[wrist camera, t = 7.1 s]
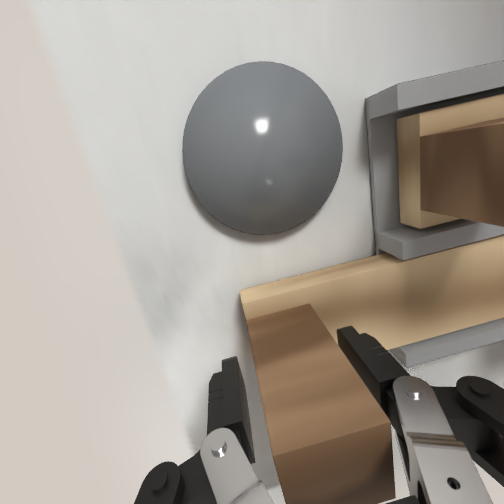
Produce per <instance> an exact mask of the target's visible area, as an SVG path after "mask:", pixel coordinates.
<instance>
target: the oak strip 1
mask: <svg viewBox="0 0 504 504" xmlns="http://www.w3.org/2000/svg"><path fill="white" fill-rule="evenodd" d="M239 291H240V296H241V301H242V306H243V310H244V314H245V317H246V322H247V327H248V332H249V337H250V342H251V347H252V353H253V358H254V363H255V368H256V373H257V378H258V384H259V389H260V394H261V399H262V404H263V409H264V415H265V420H266V425H267V430H268V435H269V440H270V445H271V451H272V456H273V460H274V463H275V467H276V470H277V474H278V477H279V481H280V485H281V488H282V492H283V495H284V499H285V502H286V504H378V503H381V502H384V501H388V500H391V499H394V498H395V482H394V467H393V451H392V434H391V421H390V420H389V419H388V417H387V416H386V414H385V413H384V411H383V410H382V408H381V407H380V405H379V404H378V402H377V401H376V400H375V398H374V397H373V395H372V394H371V392H370V391H369V389H368V388H367V386H366V385H365V384H364V382H363V381H362V379H361V378H360V376H359V375H358V373H357V372H356V370H355V369H354V368H353V366H352V365H351V363H350V362H349V360H348V359H347V357H346V356H345V354H344V353H343V352H342V350H341V349H340V347H339V346H338V339H337V329H339V328H343V327H347V326H350V325H351V326H353V327H354V328H355V329H356V331H357V332H358V333H359V334H362V333H367V334H369V335H371V336H373V337H374V338H376V339H377V340H378V342H379V343H380V344H381V345H382V347H384V348H385V349H386V350H389V349H393V348H397V347H400V346H404V345H407V344H411V343H415V342H418V341H422V340H425V339H429V338H432V337H436V336H440V335H443V334H447V333H450V332H454V331H458V330H461V329H465V328H468V327H472V326H476V325H479V324H483V323H486V322H490V321H494V320H497V319H501V318H504V234H503V235H499V236H495V237H491V238H487V239H483V240H480V241H476V242H472V243H468V244H464V245H460V246H457V247H453V248H449V249H445V250H441V251H437V252H433V253H430V254H426V255H422V256H418V257H414V258H410V259H407V260H401V259H399V258H397V257H395V256H393V255H391V254H389V253H387V252H386V253H382V254H378V255H375V256H371V257H367V258H363V259H359V260H355V261H351V262H347V263H344V264H340V265H336V266H332V267H328V268H324V269H320V270H316V271H312V272H309V273H305V274H301V275H297V276H293V277H289V278H285V279H281V280H278V281H274V282H270V283H266V284H262V285H258V286H254V287H250V288H247V289H243V290H239Z"/></svg>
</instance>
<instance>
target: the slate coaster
mask: <svg viewBox="0 0 504 504" xmlns="http://www.w3.org/2000/svg"><path fill="white" fill-rule="evenodd" d="M342 151H343V147H342V134H341V128H340V124H339V121H338V117H337V115H336V112H335V110H334V108H333V106H332V104H331V102H330V100H329V99H328V97H327V96H326V94H325V93H324V92H323V90H322V89H321V88H320V87H319V86H318V85H317V84H316V83H315V82H314V81H313V80H312V79H311V78H309V77H308V76H306V75H305V74H304V73H302V72H300V71H298V70H296V69H294V68H292V67H290V66H287V65H284V64H280V63H275V62H252V63H246V64H243V65H239V66H236V67H234V68H232V69H230V70H228V71H226V72H224V73H223V74H221V75H220V76H218V77H217V78H215V79H214V80H213V81H212V82H211V83H210V84H209V85H208V86H207V87H206V88H205V89H204V90H203V91H202V93H201V94H200V95H199V97H198V98H197V100H196V101H195V103H194V105H193V107H192V109H191V111H190V113H189V116H188V119H187V122H186V125H185V129H184V136H183V151H182V152H183V163H184V167H185V172H186V176H187V179H188V181H189V184H190V186H191V188H192V190H193V192H194V194H195V196H196V197H197V199H198V200H199V202H200V203H201V205H202V206H203V207H204V208H205V209H206V210H207V211H208V212H209V213H210V214H211V215H212V216H213V217H214V218H215V219H217V220H218V221H220V222H221V223H223V224H224V225H226V226H228V227H230V228H232V229H235V230H238V231H240V232H244V233H249V234H257V235H266V234H275V233H280V232H283V231H287V230H289V229H292V228H294V227H296V226H298V225H300V224H301V223H303V222H305V221H306V220H307V219H309V218H310V217H311V216H312V215H314V214H315V213H316V212H317V211H318V209H319V208H320V207H321V206H322V205H323V204H324V202H325V201H326V200H327V198H328V197H329V195H330V193H331V192H332V190H333V187H334V185H335V183H336V181H337V178H338V174H339V171H340V167H341V162H342Z"/></svg>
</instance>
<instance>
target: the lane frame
mask: <svg viewBox="0 0 504 504" xmlns="http://www.w3.org/2000/svg"><path fill="white" fill-rule="evenodd" d="M500 94H504V60H502V61H498V62H493V63H489V64H484V65H480V66H475V67H471V68H466V69H462V70H457V71H453V72H448V73H444V74H439V75H435V76H431V77H426V78H422V79H417V80H413V81H408V82H404V83H399V84H396V85H394V86H392V87H390V88H387V89H385V90H383V91H381V92H379V93H377V94H375V95H373V96H370V97H368V98H366V99H365V101H366V116H367V130H368V145H369V159H370V174H371V188H372V203H373V218H374V232H375V247H376V255H378V254H382V253H386V252H387V253H389V254H391V255H393V256H395V257H397V258H399V259H401V260H407V259H410V258H414V257H418V256H422V255H426V254H430V253H433V252H437V251H441V250H445V249H449V248H453V247H457V246H460V245H464V244H468V243H472V242H476V241H480V240H483V239H487V238H491V237H495V236H499V235H503V234H504V227H501V226H496V225H491V224H486V223H482V222H477V221H472V220H467V219H462V218H461V219H457V220H454V221H450V222H446V223H442V224H438V225H434V226H430V227H426V228H422V229H419V228H416V227H413V226H409V225H406V224H402V223H400V199H399V171H398V142H397V119H400V118H403V117H407V116H411V115H414V114H418V113H422V112H426V111H431V110H435V109H439V108H444V107H448V106H452V105H457V104H461V103H465V102H470V101H474V100H478V99H483V98H487V97H492V96H496V95H500ZM503 340H504V318H501V319H497V320H494V321H490V322H486V323H483V324H479V325H476V326H472V327H468V328H465V329H461V330H458V331H454V332H450V333H447V334H443V335H440V336H436V337H432V338H429V339H425V340H422V341H418V342H415V343H411V344H407V345H404V346H400V347H397V348H393V349H389V350H390V351H391V352H392V353H393V354H394V355H395V356H396V357H397V358H398V359H399V360H400V361H401V362H402V363H403V365H404V366H405V367H406V368H407V367H411V366H415V365H418V364H422V363H425V362H429V361H432V360H436V359H439V358H443V357H446V356H450V355H453V354H457V353H460V352H464V351H467V350H471V349H475V348H478V347H482V346H485V345H489V344H492V343H496V342H499V341H503Z"/></svg>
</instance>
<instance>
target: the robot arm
mask: <svg viewBox="0 0 504 504" xmlns="http://www.w3.org/2000/svg"><path fill="white" fill-rule="evenodd" d="M337 339H338V346H339V347H340V349H341V350H342V352H343V353H344V354H345V356H346V357H347V359H348V360H349V362H350V363H351V365H352V366H353V368H354V369H355V370H356V372H357V373H358V375H359V376H360V378H361V379H362V381H363V382H364V384H365V385H366V386H367V388H368V389H369V391H370V392H371V394H372V395H373V397H374V398H375V400H376V401H377V402H378V404H379V405H380V407H381V408H382V410H383V411H384V413H385V414H386V416H387V417H388V419H389V420H390V421H391V424H392V426H393V427H394V429H395V435H396V440H397V444H398V447H399V452H400V456H401V460H402V464H403V467H404V471H405V475H406V479H407V483H408V487H409V491H410V496H409V497H406V498H403V499H399V500H396V501H393V502H390V503H386V504H493V502H492V500H491V498H490V496H489V494H488V492H487V489H486V488H485V485H484V483H483V481H482V479H481V477H480V475H479V473H478V471H477V469H476V467H475V464H474V462H473V460H474V461H475V462H476V463H477V464H478V465H479V466H480V467H481V468H483V469H484V470H485V471H486V472H487V473H488V474H490V475H491V476H492V477H493V478H494V479H495V480H496V481H498V482H499V483H500V484H501V485H502V486H503V487H504V389H503V388H501V387H499V386H498V385H496V384H494V383H493V382H491V381H489V380H487V379H484V378H481V377H476V376H465V377H462V378H460V379H459V380H458V381H457V383H456V387H434V386H430V385H429V384H428V383H427V382H425V381H424V380H422V379H420V378H417V377H413V376H410V375H409V374H408V373H407V371H406V370H405V369H404V368H403V367H402V366H401V365H400V364H399V363H398V362H397V361H396V360H395V359H394V358H393V356H392V355H391V354H390V353H388V351H387V350H386V349H385V348H384V347H382V345H381V344H380V343H379V342H378V340H377V339H376V338H374V337H373V336H371V335H369V334H367V333H362V334H359V333H358V332H357V331H356V329H355V328H354V327H353V326H351V325H350V326H347V327H343V328H339V329H337ZM208 401H209V403H208V425H207V437H206V438H205V439H204V441H203V443H202V445H201V449H200V450H199V451H198V453H196V454H195V455H194V456H193V457H191V458H190V459H188V460H187V461H185V462H184V463H182V464H181V465H179V466H177V465H176V464H175V463H173V462H163V463H161V464H159V465H157V466H156V467H155V468H153V469H152V470H151V471H150V472H149V473H148V475H147V476H146V477H145V479H144V481H143V483H142V485H141V488H140V490H139V493H138V495H137V498H136V500H135V502H134V504H274V503H273V501H272V499H271V498H270V495H269V493H268V492H267V490H266V488H265V486H264V484H263V483H262V481H259V479H258V478H257V476H256V474H255V472H254V470H253V468H252V466H251V464H252V463H255V456H254V449H253V441H252V433H251V426H250V418H249V410H248V403H247V395H246V389H245V384H244V380H243V376H242V373H241V370H240V366H239V363H238V359H237V357H236V356H235V357H231V358H228V359H224V360H222V372H218V373H215V374H213V376H212V378H211V380H210V382H209V398H208Z"/></svg>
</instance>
